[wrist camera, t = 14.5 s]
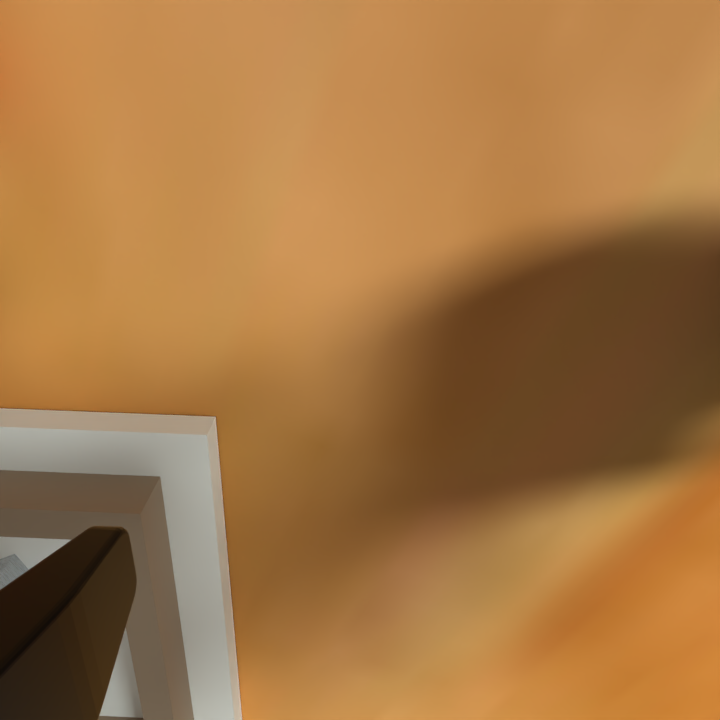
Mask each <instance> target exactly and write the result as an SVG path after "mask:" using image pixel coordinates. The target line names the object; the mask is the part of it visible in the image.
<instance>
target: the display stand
mask: <svg viewBox="0 0 720 720" xmlns="http://www.w3.org/2000/svg"><path fill="white" fill-rule="evenodd" d="M92 526H120V527H123V528H125V529H126V530H127V531H128V533H129V537H130V542H131V547H132V553H133V558H134V564H135V570H136V576H137V586H136V593H135V597H134V601H133V604H132V607H131V611H130V614H129V618H128V621H127V624H126V628H125V631H124V635H123V638H122V641H121V645H120V648H119V652H118V655H117V658H116V662H115V665H114V669H113V672H112V675H111V679H110V682H109V686H108V689H107V692H106V696H105V699H104V702H103V705H102V709H101V712H100V715H99V718H98V720H242V711H241V700H240V688H239V677H238V666H237V654H236V643H235V631H234V620H233V609H232V597H231V586H230V574H229V563H228V552H227V540H226V529H225V517H224V506H223V495H222V483H221V472H220V460H219V449H218V438H217V426H216V417H212V416H186V415H161V414H135V413H109V412H83V411H58V410H32V409H6V408H0V559H1V558H4V557H7V556H10V555H12V554H16V555H17V557H18V558H19V559H20V560H21V561H22V562H23V564H24V565H25V566H26V567H27V568H28V569H30V568H32V567H33V566H35V565H36V564H38V563H39V562H40V561H42V560H43V559H45V558H46V557H48V556H49V555H50V554H52V553H53V552H55V551H56V550H58V549H59V548H60V547H62V546H63V545H65V544H66V543H68V542H69V541H70V540H72V539H73V538H75V537H76V536H78V535H79V534H80V533H82V532H83V531H85V530H86V529H88V528H90V527H92Z"/></svg>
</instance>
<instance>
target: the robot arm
mask: <svg viewBox="0 0 720 720" xmlns="http://www.w3.org/2000/svg"><path fill="white" fill-rule="evenodd" d="M136 586H137V576H136V570H135V564H134V558H133V553H132V547H131V542H130V537H129V533H128V531H127V530H126V529H125V528H123V527H120V526H92V527H90V528H88V529H86V530H85V531H83V532H82V533H80V534H79V535H78V536H76V537H75V538H73V539H72V540H70V541H69V542H68V543H66V544H65V545H63V546H62V547H60V548H59V549H58V550H56V551H55V552H53V553H52V554H50V555H49V556H48V557H46V558H45V559H43V560H42V561H40V562H39V563H38V564H36V565H35V566H33V567H32V568H30V569H29V570H28V571H26V572H25V573H23V574H22V575H20V576H19V577H17V578H16V579H15V580H13V581H12V582H10V583H9V584H7V585H6V586H5V587H3V588H2V589H0V720H98V718H99V715H100V712H101V709H102V705H103V702H104V699H105V696H106V692H107V689H108V686H109V682H110V679H111V675H112V672H113V669H114V665H115V662H116V658H117V655H118V652H119V648H120V645H121V641H122V638H123V635H124V631H125V628H126V624H127V621H128V618H129V614H130V611H131V607H132V604H133V601H134V597H135V593H136Z"/></svg>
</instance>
